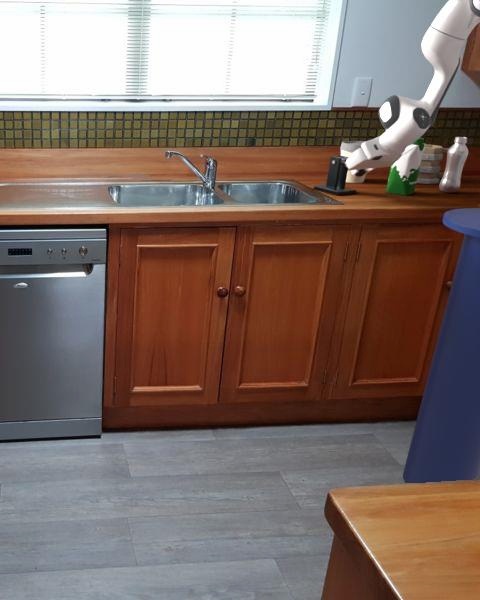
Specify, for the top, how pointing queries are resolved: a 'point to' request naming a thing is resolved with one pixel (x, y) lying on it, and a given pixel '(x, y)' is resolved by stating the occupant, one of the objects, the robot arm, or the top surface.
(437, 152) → the tankard
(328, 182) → the black lever switch stand
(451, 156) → the silver water bottle
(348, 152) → the reusable coffee cup
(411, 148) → the milk carton
